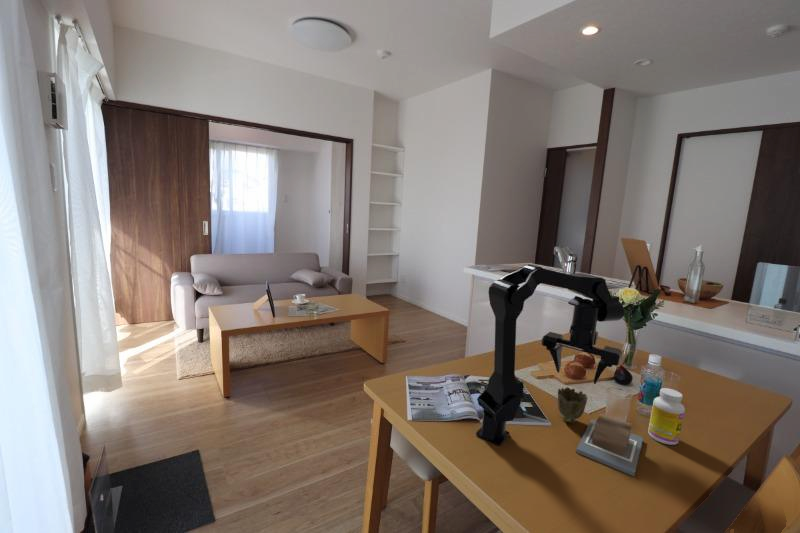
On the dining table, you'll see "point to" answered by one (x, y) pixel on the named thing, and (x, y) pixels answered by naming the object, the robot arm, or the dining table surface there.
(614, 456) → the slate board
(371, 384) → the dining table surface
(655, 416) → the supplement bottle
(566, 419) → the cup
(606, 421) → the walnut block
